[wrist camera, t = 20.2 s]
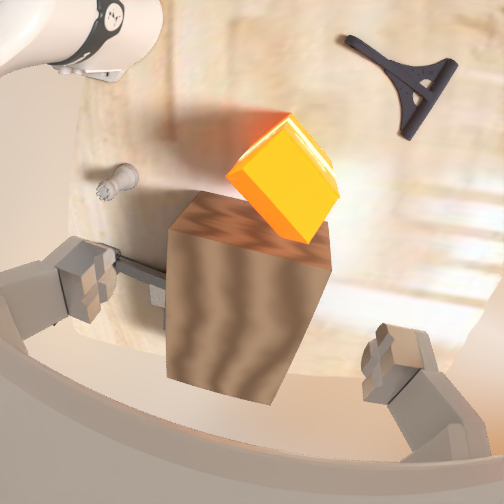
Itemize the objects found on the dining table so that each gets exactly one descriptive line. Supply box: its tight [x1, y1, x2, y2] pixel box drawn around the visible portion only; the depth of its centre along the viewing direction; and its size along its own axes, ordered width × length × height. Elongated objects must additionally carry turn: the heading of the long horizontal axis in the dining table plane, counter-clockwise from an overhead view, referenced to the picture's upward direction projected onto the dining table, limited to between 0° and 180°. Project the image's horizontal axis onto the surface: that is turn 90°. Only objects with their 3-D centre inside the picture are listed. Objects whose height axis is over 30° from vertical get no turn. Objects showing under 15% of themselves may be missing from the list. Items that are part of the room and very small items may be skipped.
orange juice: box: [226, 113, 340, 244], centre depth 34 cm, size 8×9×20 cm
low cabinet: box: [166, 191, 332, 405], centre depth 51 cm, size 20×32×13 cm, turn 169°
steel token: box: [149, 284, 166, 308], centre depth 60 cm, size 6×6×2 cm
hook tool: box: [53, 243, 166, 330], centre depth 52 cm, size 18×14×20 cm
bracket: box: [345, 35, 458, 141], centre depth 33 cm, size 14×15×3 cm
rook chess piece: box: [96, 164, 139, 201], centre depth 45 cm, size 4×4×8 cm
